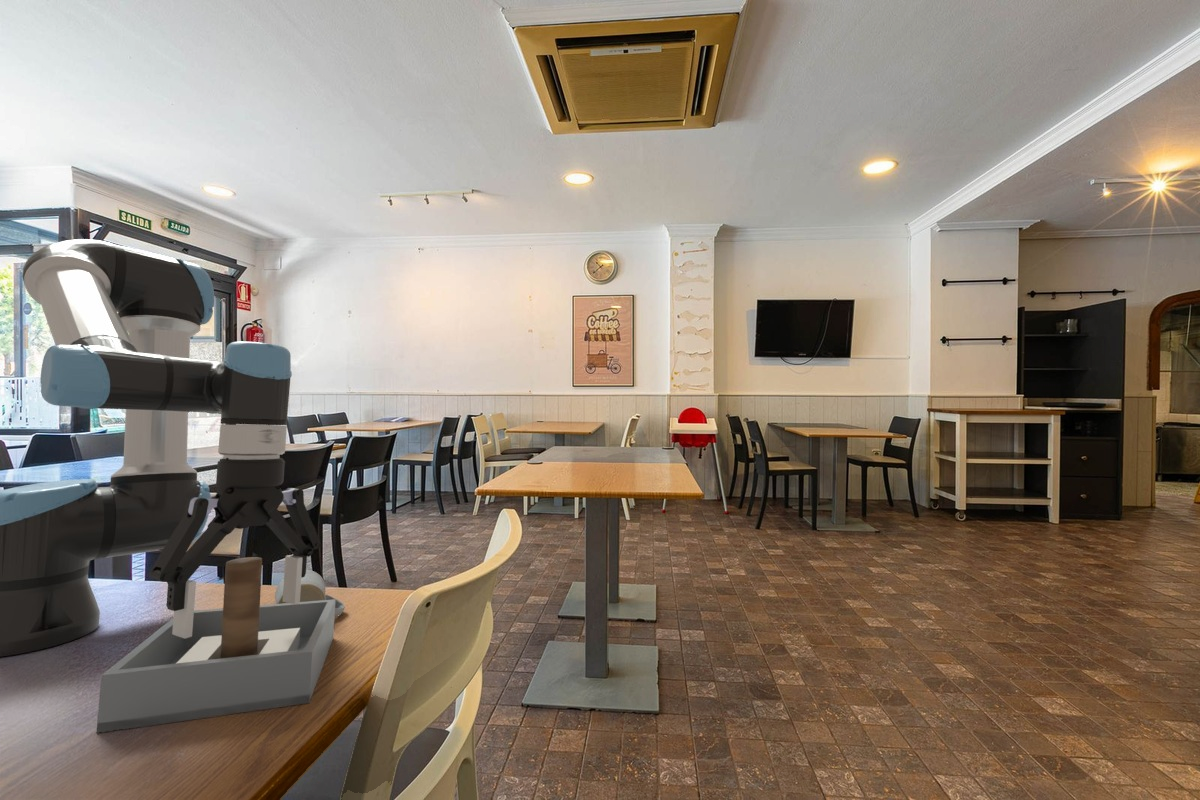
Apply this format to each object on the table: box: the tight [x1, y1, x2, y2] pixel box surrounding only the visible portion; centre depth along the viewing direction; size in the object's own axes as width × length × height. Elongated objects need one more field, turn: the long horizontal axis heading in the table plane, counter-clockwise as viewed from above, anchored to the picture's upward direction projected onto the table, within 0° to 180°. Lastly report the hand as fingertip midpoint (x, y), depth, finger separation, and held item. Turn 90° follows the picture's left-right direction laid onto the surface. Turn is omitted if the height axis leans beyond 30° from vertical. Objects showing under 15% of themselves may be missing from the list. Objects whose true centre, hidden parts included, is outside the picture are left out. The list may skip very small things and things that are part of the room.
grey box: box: [96, 598, 337, 734], centre depth 67 cm, size 20×20×6 cm
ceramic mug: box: [274, 569, 346, 618], centre depth 88 cm, size 11×8×8 cm
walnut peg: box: [220, 556, 263, 659], centre depth 67 cm, size 4×4×14 cm
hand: (241, 617), depth 67 cm, fingers open, 13 cm apart
